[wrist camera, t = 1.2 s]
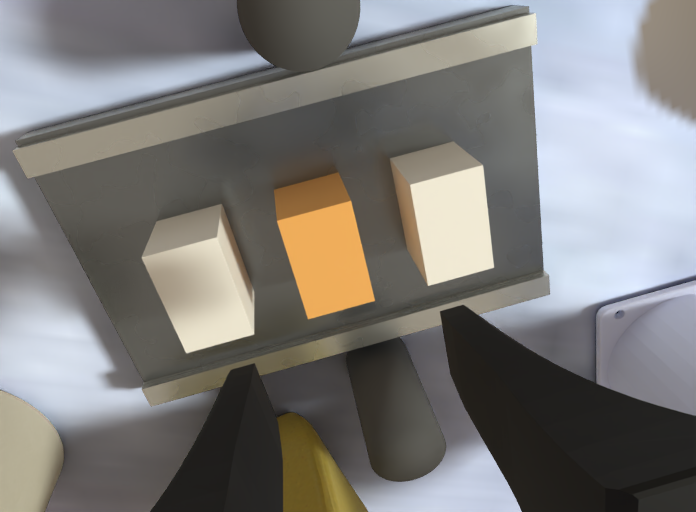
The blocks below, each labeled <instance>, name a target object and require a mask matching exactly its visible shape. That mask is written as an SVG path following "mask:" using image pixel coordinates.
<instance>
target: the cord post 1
mask: <svg viewBox="0 0 696 512" xmlns="http://www.w3.org/2000/svg"><path fill="white" fill-rule="evenodd" d="M237 9H238V16H239V20H240V24H241V27H242V29H243V32H244V34H245V36H246V38H247V40H248V41H249V43H250V44H251V46H252V47H253V48H254V49H255V50H256V52H257V53H258V54H260V55H261V56H262V57H263V58H264V59H265V60H267V61H268V62H270V63H271V64H273V65H275V66H277V67H280V68H282V69H286V70H290V71H298V72H303V71H312V70H316V69H319V68H322V67H324V66H326V65H328V64H330V63H331V62H333V61H334V60H336V59H337V58H338V57H339V56H340V55H341V54H342V53H343V52H344V51H345V50H346V48H347V47H348V45H349V44H350V42H351V41H352V39H353V37H354V35H355V32H356V29H357V26H358V22H359V16H360V0H237Z"/></svg>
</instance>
